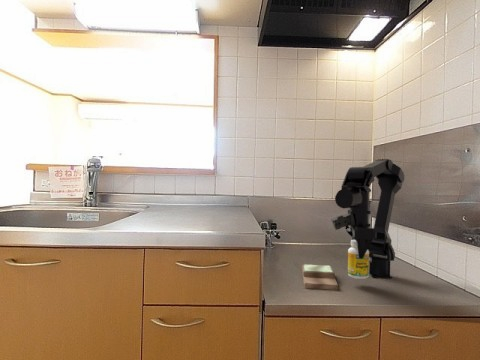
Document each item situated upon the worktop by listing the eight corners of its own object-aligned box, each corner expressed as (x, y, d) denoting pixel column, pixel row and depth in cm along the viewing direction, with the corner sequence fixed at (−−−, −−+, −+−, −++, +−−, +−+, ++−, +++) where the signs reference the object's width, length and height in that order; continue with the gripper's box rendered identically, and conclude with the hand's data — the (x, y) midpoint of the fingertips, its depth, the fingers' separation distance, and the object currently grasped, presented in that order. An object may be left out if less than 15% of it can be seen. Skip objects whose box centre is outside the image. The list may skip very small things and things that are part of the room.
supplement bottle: (361, 272, 110) (361, 238, 110) (373, 278, 104) (373, 242, 104) (343, 274, 108) (344, 239, 108) (354, 279, 102) (355, 243, 102)
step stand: (330, 274, 118) (330, 265, 118) (337, 289, 102) (338, 279, 102) (302, 273, 119) (302, 264, 119) (304, 287, 104) (304, 277, 103)
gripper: (329, 203, 116) (328, 248, 116) (337, 208, 98) (337, 262, 98) (362, 204, 115) (361, 249, 115) (377, 209, 96) (376, 263, 96)
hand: (358, 255), depth 106 cm, fingers closed on supplement bottle, 6 cm apart
